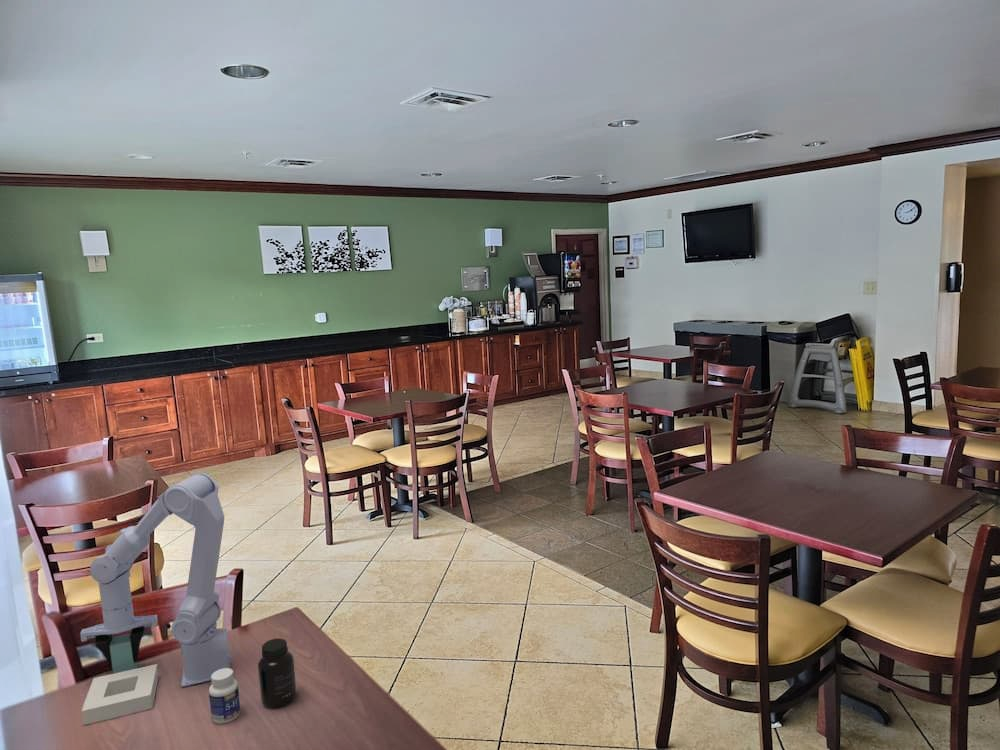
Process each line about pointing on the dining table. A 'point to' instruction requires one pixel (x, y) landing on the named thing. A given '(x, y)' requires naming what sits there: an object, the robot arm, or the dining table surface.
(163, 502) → the robot arm
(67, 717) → the dining table surface
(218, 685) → the pill bottle
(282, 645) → the supplement bottle
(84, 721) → the socket block
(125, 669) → the peg
